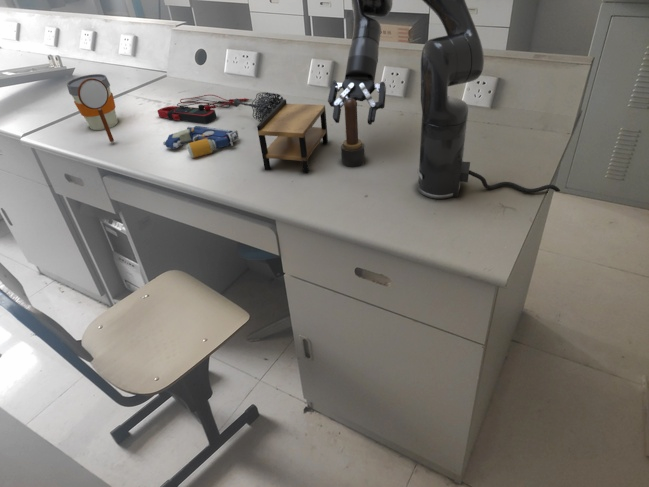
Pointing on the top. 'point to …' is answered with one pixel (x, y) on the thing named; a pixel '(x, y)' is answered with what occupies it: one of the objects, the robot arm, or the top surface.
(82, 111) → the reusable coffee cup
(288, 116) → the tan black-edged stand
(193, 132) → the spray gun
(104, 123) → the magnifying glass
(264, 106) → the massage brush
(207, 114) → the digital clamp meter
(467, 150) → the top surface
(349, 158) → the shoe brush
